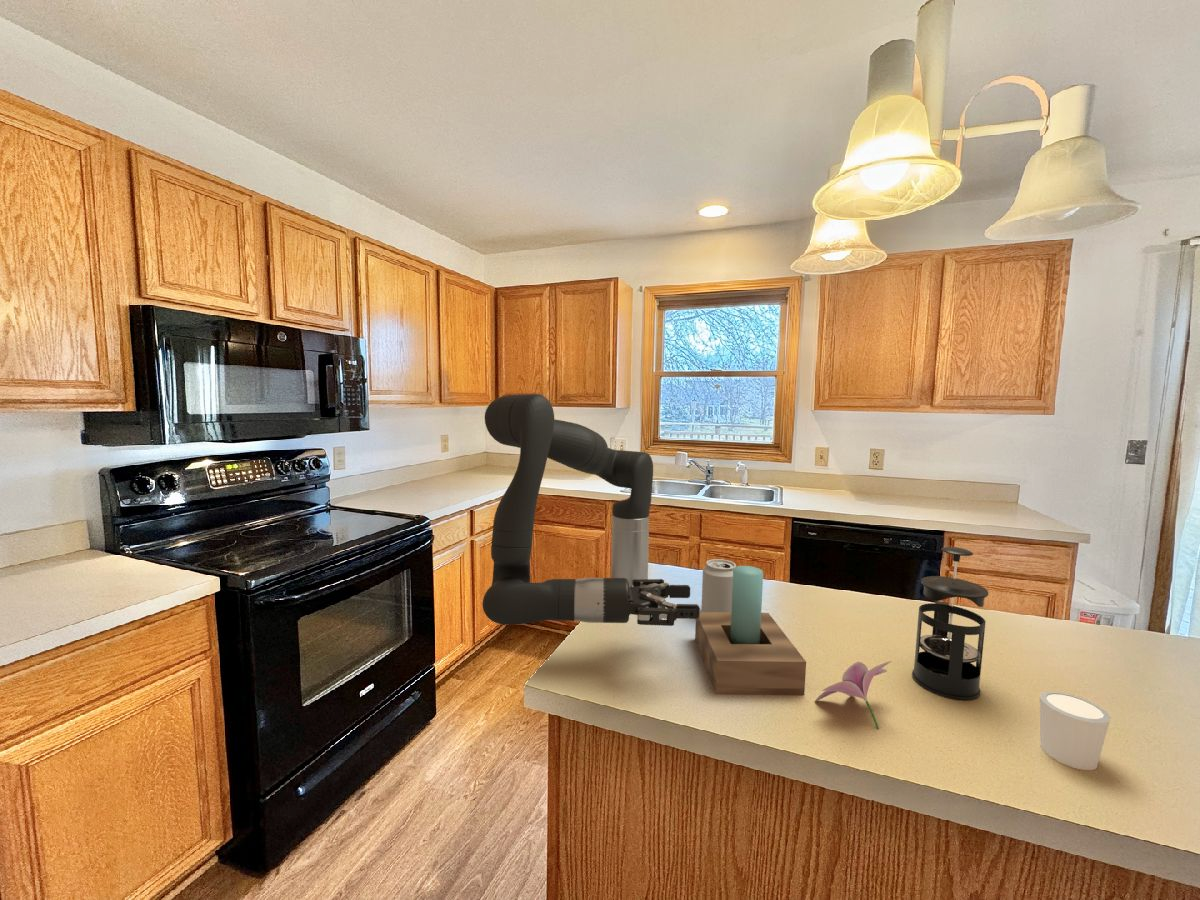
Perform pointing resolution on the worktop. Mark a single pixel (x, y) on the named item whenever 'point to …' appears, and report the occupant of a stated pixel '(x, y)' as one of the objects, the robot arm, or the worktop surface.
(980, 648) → the french press
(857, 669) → the lily
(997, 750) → the worktop surface
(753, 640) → the peg
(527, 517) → the robot arm
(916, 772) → the worktop surface
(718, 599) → the can
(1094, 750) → the white cylinder
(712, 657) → the well block
